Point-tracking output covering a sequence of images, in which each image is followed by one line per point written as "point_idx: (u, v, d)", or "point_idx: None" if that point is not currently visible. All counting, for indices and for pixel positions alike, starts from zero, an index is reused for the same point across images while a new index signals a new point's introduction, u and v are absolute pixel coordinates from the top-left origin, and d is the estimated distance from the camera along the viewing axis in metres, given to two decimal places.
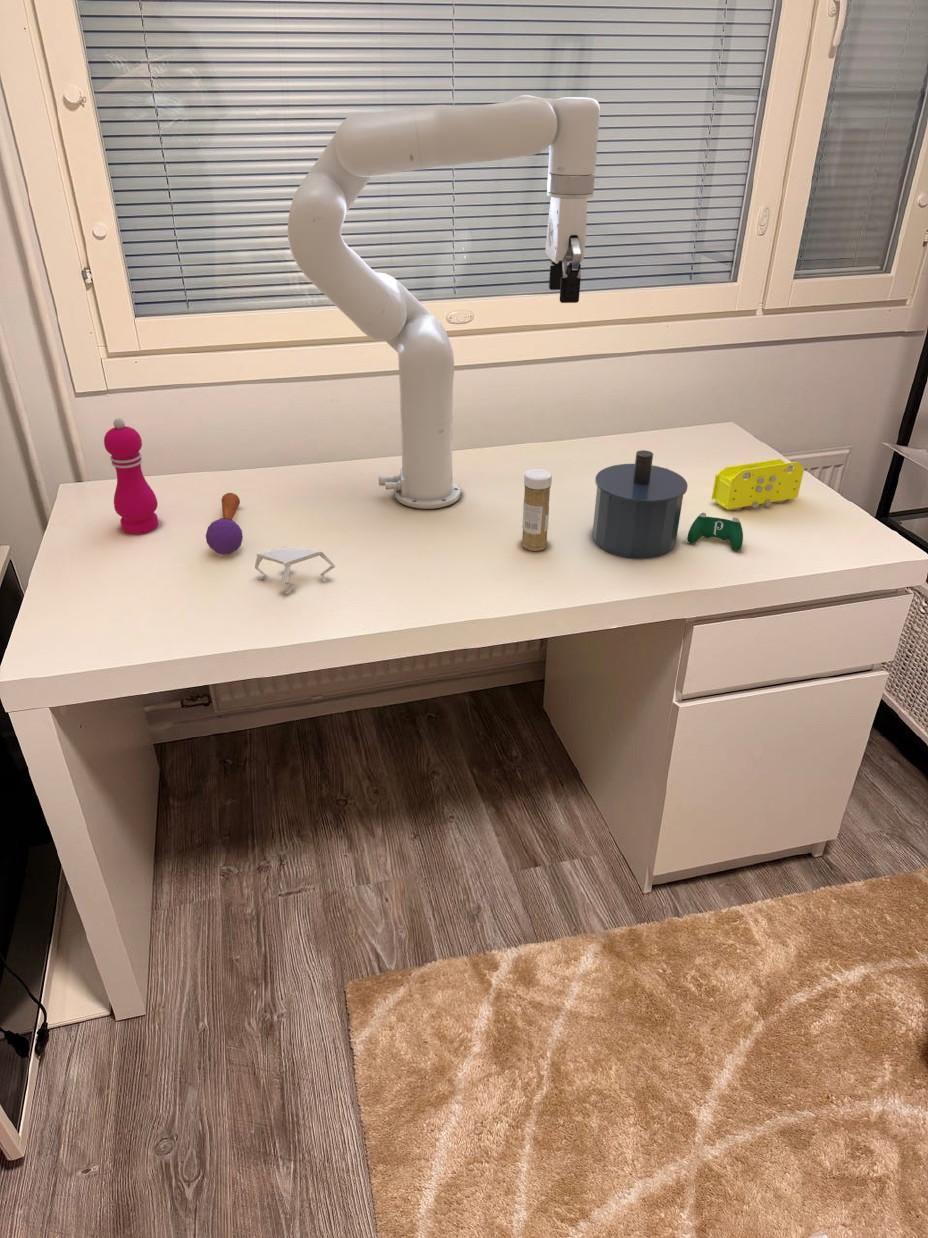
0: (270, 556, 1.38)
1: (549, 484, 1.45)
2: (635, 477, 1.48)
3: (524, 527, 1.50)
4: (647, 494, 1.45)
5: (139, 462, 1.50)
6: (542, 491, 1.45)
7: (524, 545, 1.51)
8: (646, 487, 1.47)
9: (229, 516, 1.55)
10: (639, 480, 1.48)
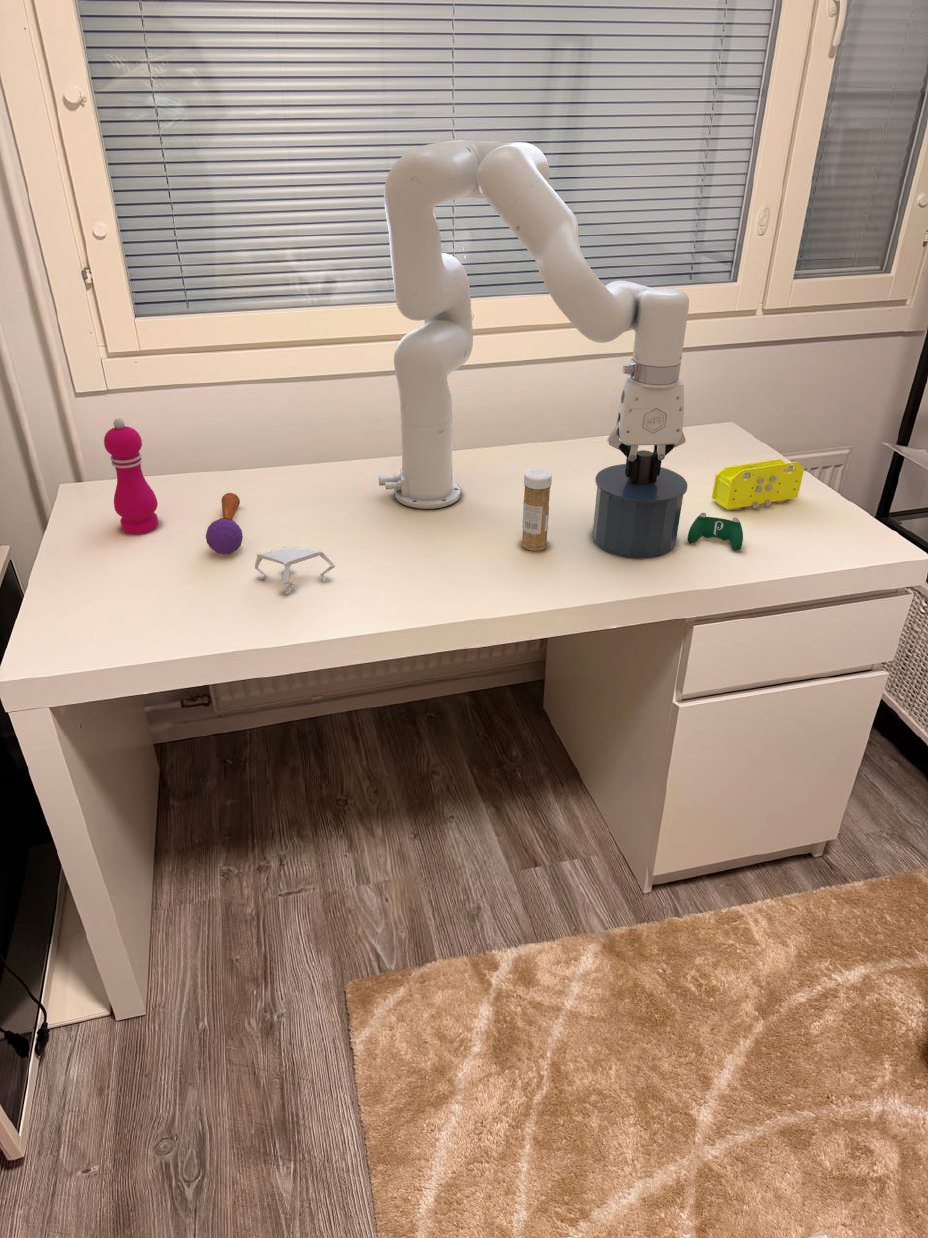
0: (270, 556, 1.38)
1: (549, 484, 1.45)
2: None
3: (524, 527, 1.50)
4: (647, 494, 1.45)
5: (139, 462, 1.50)
6: (542, 491, 1.45)
7: (524, 545, 1.51)
8: (646, 487, 1.47)
9: (229, 516, 1.55)
10: (639, 480, 1.48)
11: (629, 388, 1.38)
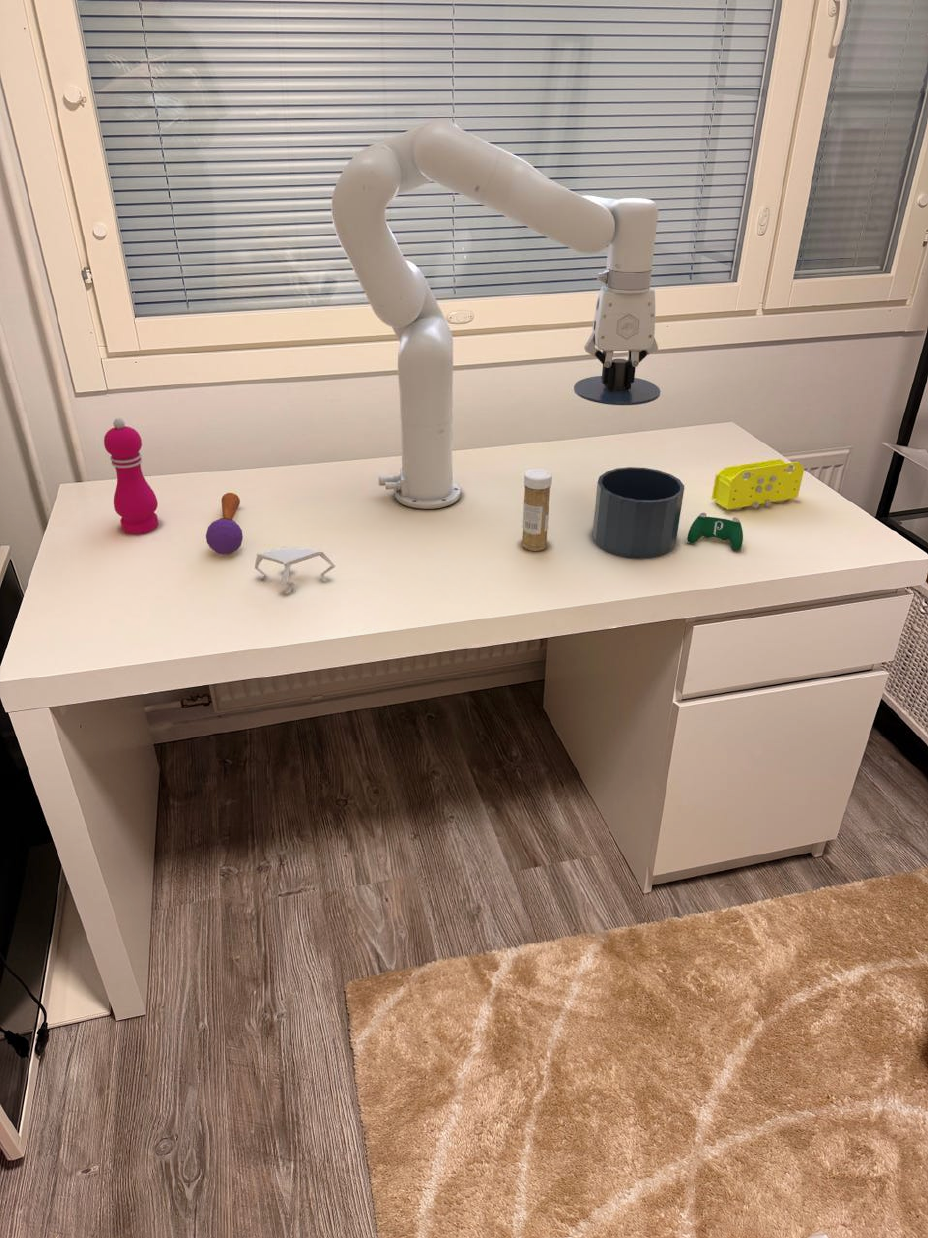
0: (270, 556, 1.38)
1: (549, 484, 1.45)
2: None
3: (524, 527, 1.50)
4: (622, 398, 1.54)
5: (139, 462, 1.50)
6: (542, 491, 1.45)
7: (524, 545, 1.51)
8: (621, 393, 1.56)
9: (229, 516, 1.55)
10: (615, 386, 1.57)
11: (603, 294, 1.48)
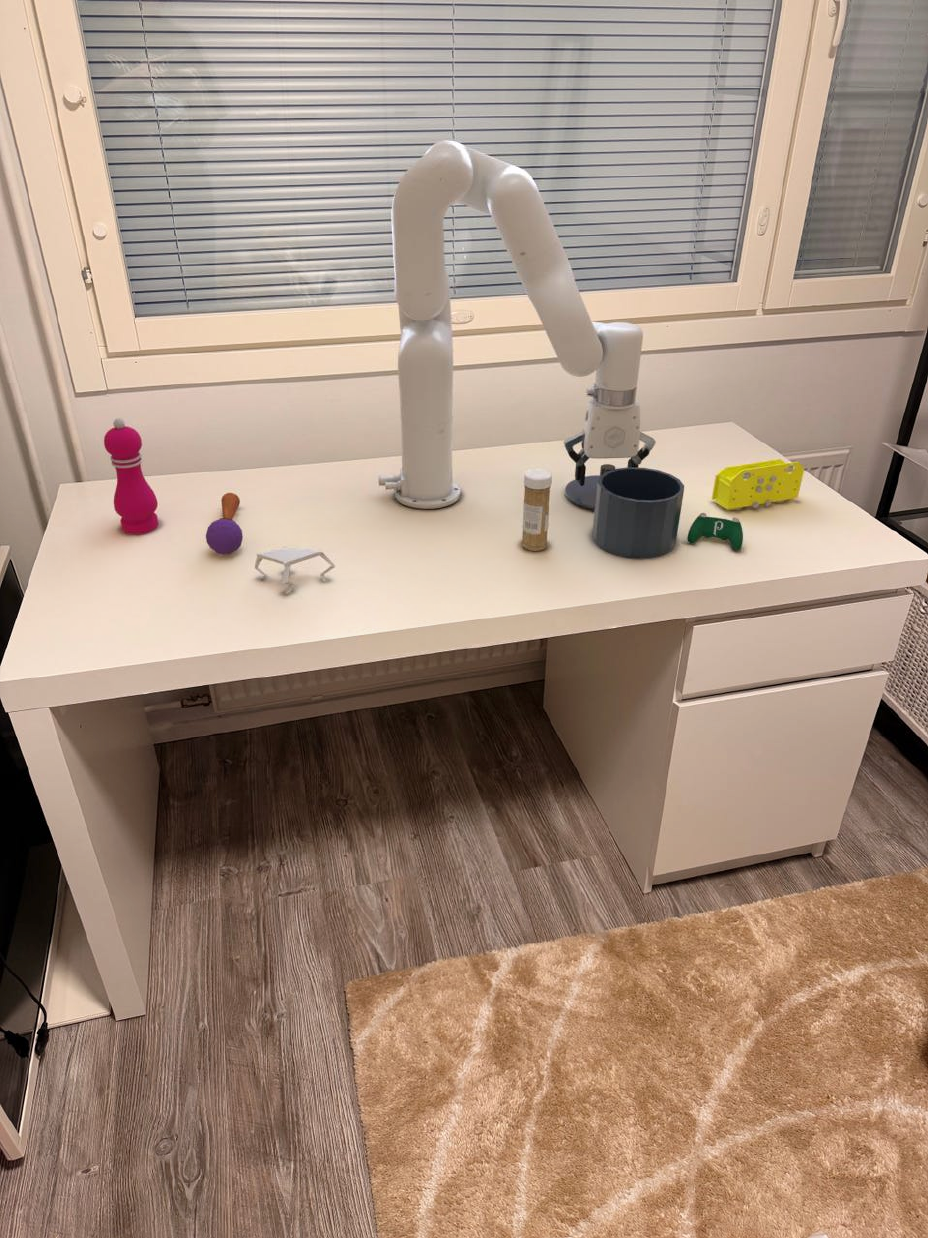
0: (270, 556, 1.38)
1: (549, 484, 1.45)
2: None
3: (524, 527, 1.50)
4: None
5: (139, 462, 1.50)
6: (542, 491, 1.45)
7: (524, 545, 1.51)
8: None
9: (229, 516, 1.55)
10: None
11: (592, 409, 1.59)
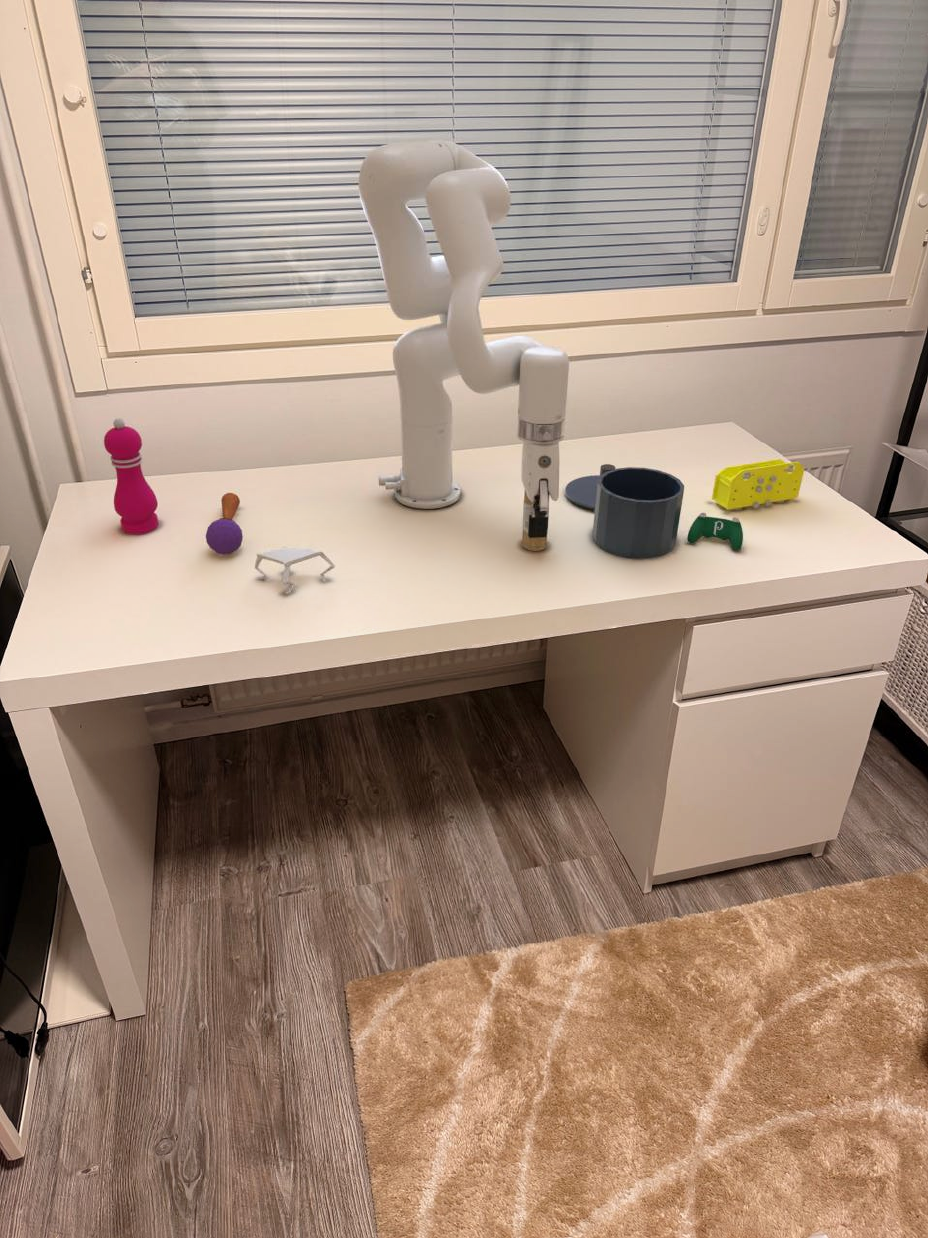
0: (270, 556, 1.38)
1: None
2: None
3: (524, 527, 1.50)
4: None
5: (139, 462, 1.50)
6: None
7: (524, 545, 1.51)
8: None
9: (229, 516, 1.55)
10: None
11: (555, 449, 1.39)
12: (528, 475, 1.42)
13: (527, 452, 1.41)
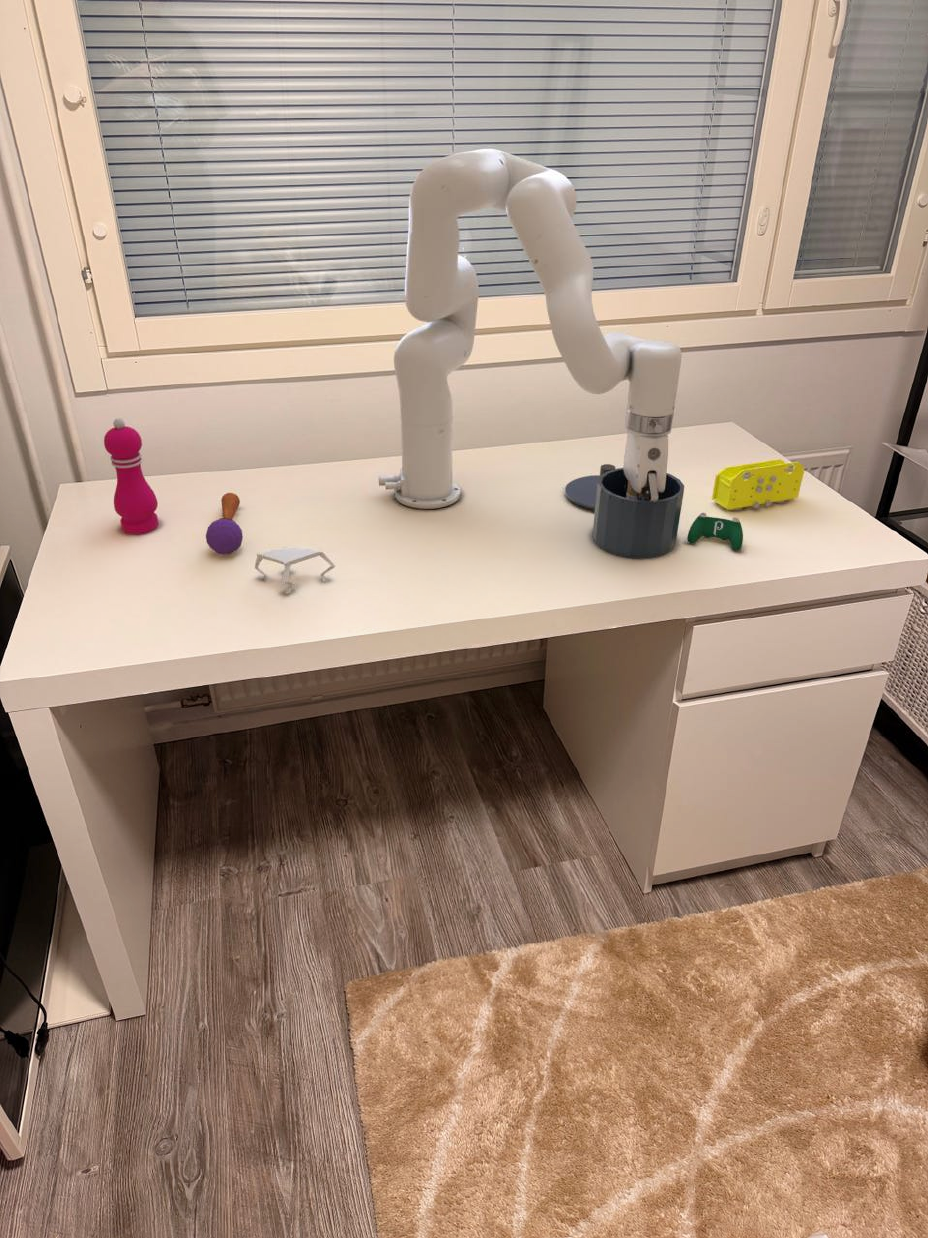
0: (270, 556, 1.38)
1: None
2: None
3: None
4: None
5: (139, 462, 1.50)
6: None
7: None
8: None
9: (229, 516, 1.55)
10: None
11: (665, 441, 1.41)
12: (636, 468, 1.44)
13: (636, 444, 1.43)
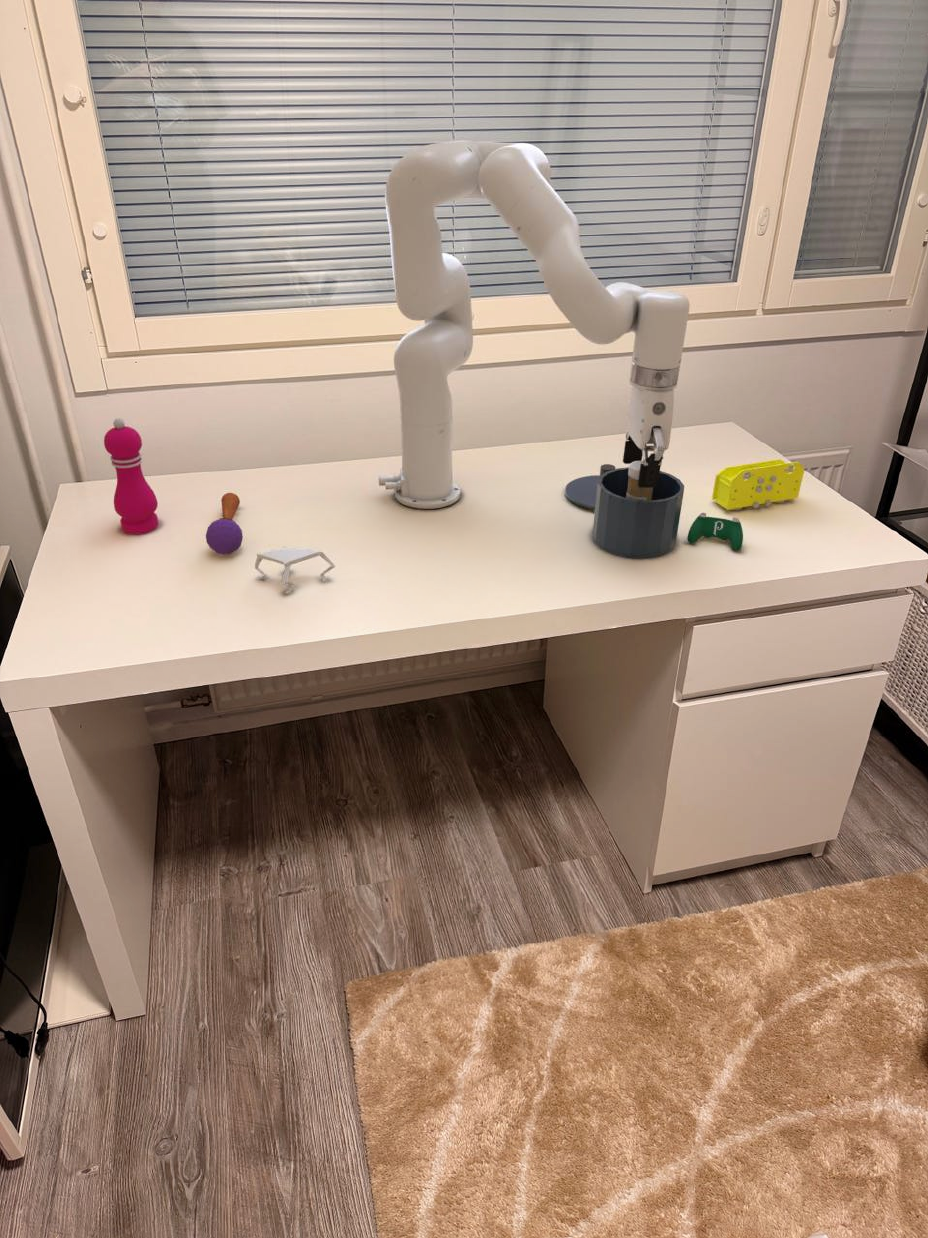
0: (270, 556, 1.38)
1: None
2: None
3: None
4: None
5: (139, 462, 1.50)
6: None
7: None
8: None
9: (229, 516, 1.55)
10: None
11: (670, 396, 1.37)
12: (640, 423, 1.40)
13: (640, 399, 1.39)
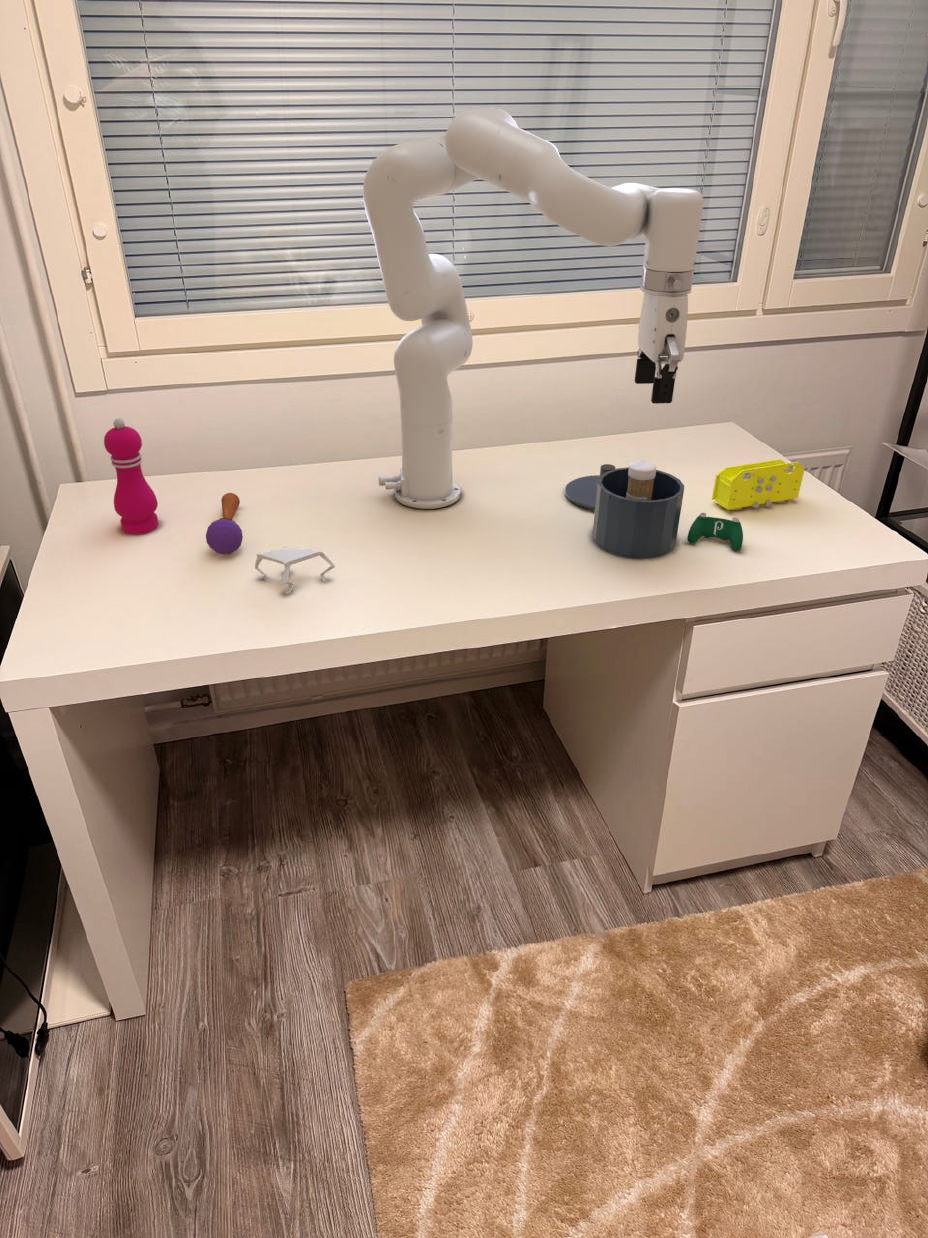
0: (270, 556, 1.38)
1: (654, 475, 1.47)
2: None
3: None
4: None
5: (139, 462, 1.50)
6: (647, 482, 1.47)
7: None
8: None
9: (229, 516, 1.55)
10: None
11: (684, 301, 1.29)
12: (653, 332, 1.32)
13: (652, 306, 1.31)
